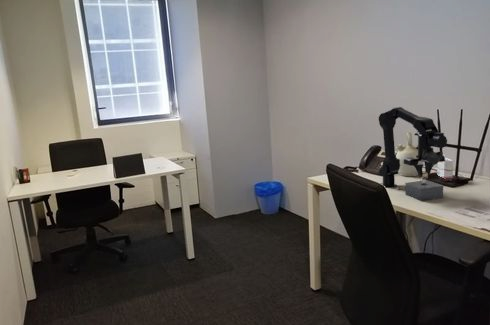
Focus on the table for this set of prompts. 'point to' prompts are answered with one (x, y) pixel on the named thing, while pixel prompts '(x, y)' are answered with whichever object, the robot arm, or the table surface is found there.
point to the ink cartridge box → (445, 168)
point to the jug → (406, 153)
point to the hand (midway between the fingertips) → (424, 177)
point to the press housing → (424, 190)
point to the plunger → (424, 177)
